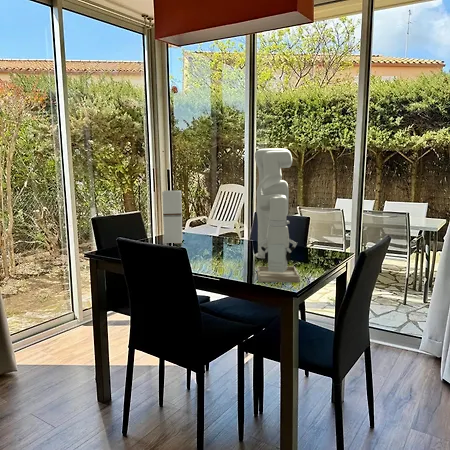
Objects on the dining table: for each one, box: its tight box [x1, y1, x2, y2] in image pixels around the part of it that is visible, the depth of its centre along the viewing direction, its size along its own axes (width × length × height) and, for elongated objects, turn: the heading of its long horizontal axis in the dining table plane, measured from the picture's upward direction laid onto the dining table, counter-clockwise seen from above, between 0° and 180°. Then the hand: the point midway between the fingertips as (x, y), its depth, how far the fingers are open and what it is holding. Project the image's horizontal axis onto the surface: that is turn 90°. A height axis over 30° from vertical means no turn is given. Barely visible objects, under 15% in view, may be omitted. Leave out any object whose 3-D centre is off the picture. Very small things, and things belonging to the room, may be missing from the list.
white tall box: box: [162, 190, 183, 245], centre depth 268 cm, size 11×11×35 cm
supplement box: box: [267, 244, 288, 273], centre depth 190 cm, size 7×7×13 cm
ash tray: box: [256, 266, 301, 283], centre depth 191 cm, size 18×18×2 cm
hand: (277, 260), depth 190 cm, fingers closed on supplement box, 9 cm apart
